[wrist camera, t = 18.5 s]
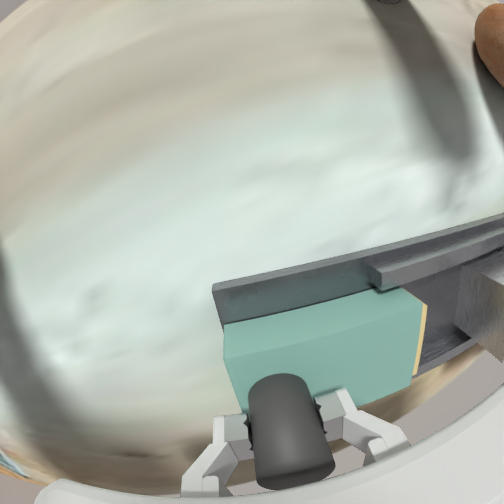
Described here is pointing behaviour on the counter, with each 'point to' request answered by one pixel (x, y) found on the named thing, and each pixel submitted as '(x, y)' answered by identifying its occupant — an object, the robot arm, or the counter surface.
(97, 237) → the counter surface
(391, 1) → the beverage cup
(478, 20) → the onion
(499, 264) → the housing
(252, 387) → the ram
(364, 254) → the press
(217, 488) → the robot arm
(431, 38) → the counter surface
